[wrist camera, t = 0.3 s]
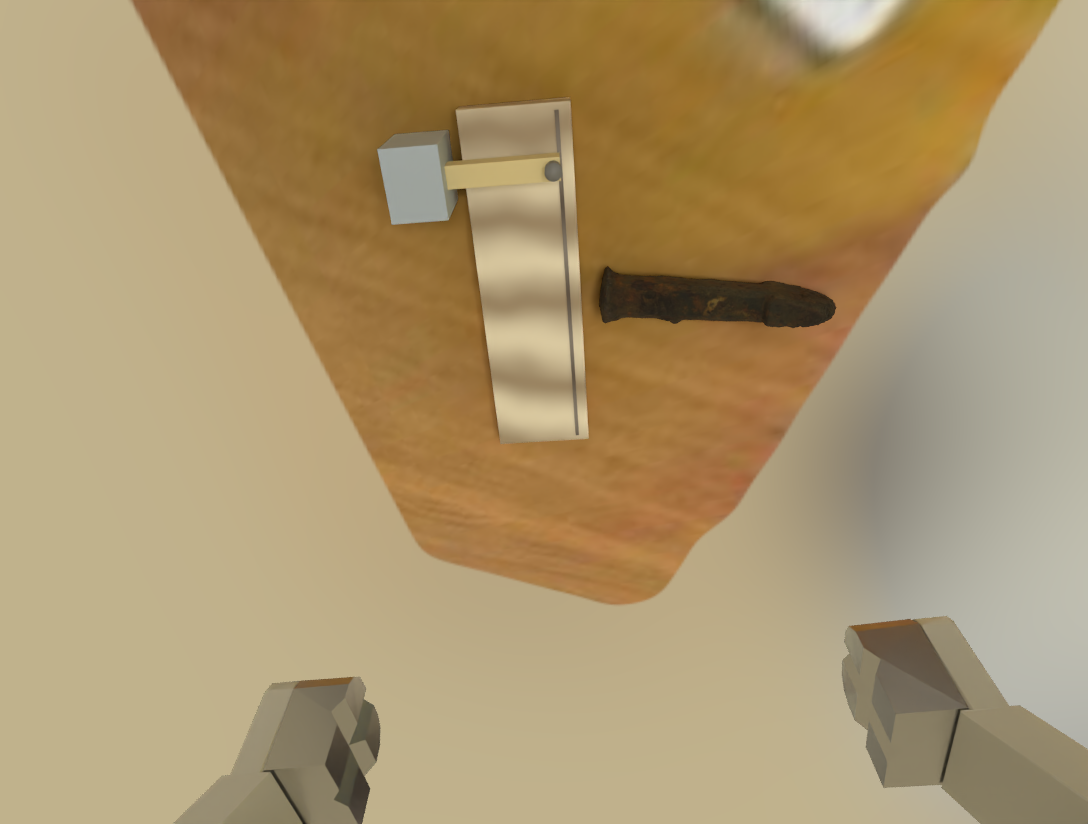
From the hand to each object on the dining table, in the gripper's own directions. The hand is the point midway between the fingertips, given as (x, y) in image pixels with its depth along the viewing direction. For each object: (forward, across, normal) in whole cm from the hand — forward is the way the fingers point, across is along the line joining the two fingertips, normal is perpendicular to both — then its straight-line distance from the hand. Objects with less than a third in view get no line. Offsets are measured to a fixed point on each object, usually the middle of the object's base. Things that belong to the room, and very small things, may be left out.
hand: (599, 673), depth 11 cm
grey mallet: (+46, +6, 0) cm, 46 cm away
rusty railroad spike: (+46, -11, +12) cm, 49 cm away
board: (+46, +4, +10) cm, 47 cm away
